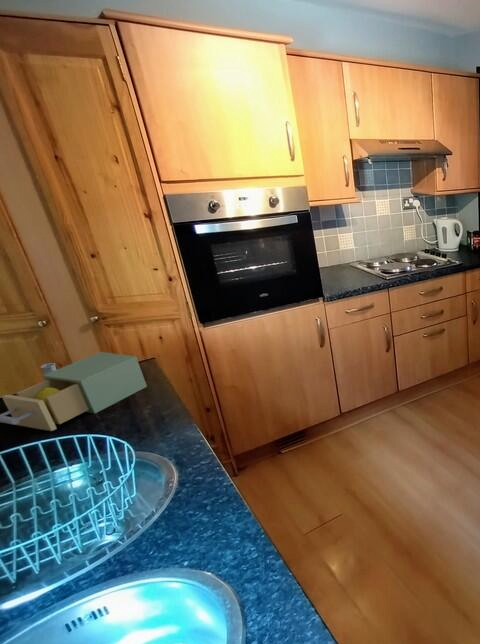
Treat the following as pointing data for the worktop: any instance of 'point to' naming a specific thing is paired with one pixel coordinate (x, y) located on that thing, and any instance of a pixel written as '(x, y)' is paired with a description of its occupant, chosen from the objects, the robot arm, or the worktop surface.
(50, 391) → the lemon
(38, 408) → the drawer
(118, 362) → the cabinet
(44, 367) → the flask
